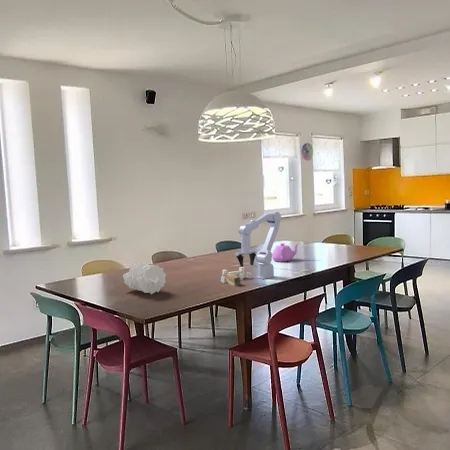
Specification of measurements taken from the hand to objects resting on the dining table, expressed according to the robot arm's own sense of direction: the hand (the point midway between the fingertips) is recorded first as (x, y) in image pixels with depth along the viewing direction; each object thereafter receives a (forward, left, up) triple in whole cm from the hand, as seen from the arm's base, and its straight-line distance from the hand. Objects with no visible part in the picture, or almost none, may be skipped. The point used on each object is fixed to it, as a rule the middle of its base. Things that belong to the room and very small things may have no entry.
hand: (246, 265), depth 296 cm
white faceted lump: (+62, -18, -10) cm, 65 cm away
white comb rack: (+3, -9, -10) cm, 14 cm away
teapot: (-64, -44, -10) cm, 79 cm away
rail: (+11, -1, -10) cm, 15 cm away
